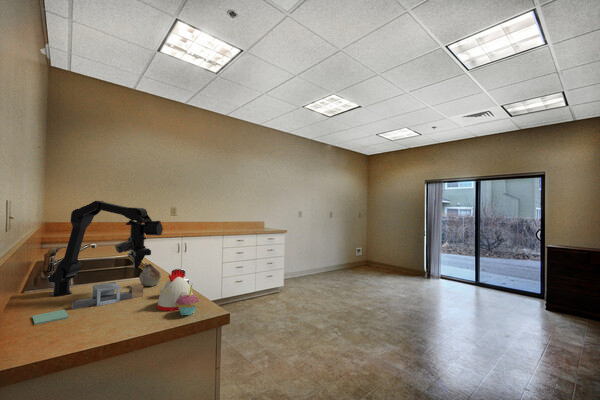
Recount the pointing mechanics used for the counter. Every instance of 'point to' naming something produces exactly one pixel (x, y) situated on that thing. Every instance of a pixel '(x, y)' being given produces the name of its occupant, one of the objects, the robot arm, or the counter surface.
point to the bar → (92, 301)
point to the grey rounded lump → (150, 275)
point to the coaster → (49, 317)
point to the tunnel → (106, 292)
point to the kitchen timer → (173, 291)
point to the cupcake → (187, 303)
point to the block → (136, 290)
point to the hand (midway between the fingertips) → (136, 269)
